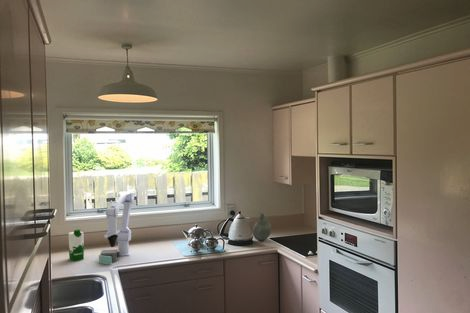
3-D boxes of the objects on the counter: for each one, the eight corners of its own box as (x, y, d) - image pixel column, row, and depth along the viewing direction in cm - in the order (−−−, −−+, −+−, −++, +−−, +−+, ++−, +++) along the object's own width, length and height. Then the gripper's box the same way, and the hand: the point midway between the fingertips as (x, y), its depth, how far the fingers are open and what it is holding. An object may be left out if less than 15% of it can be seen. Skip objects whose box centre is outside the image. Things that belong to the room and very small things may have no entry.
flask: (249, 239, 304) (249, 212, 303) (269, 238, 309) (269, 211, 308) (254, 243, 293) (254, 215, 292) (274, 241, 297) (274, 214, 297)
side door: (99, 262, 246) (99, 254, 245) (111, 264, 243) (111, 256, 242) (98, 263, 245) (98, 255, 244) (110, 264, 242) (110, 256, 241)
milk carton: (72, 262, 247) (71, 231, 247) (67, 258, 254) (66, 229, 253) (85, 259, 253) (85, 229, 252) (80, 256, 260) (80, 227, 259)
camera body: (102, 258, 254) (102, 250, 254) (120, 257, 256) (120, 249, 256) (100, 262, 246) (100, 253, 246) (118, 261, 248) (118, 252, 248)
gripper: (114, 223, 254) (114, 243, 254) (99, 227, 240) (100, 248, 241) (123, 223, 252) (123, 244, 252) (109, 228, 238) (109, 249, 238)
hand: (112, 246), depth 246 cm, fingers closed
